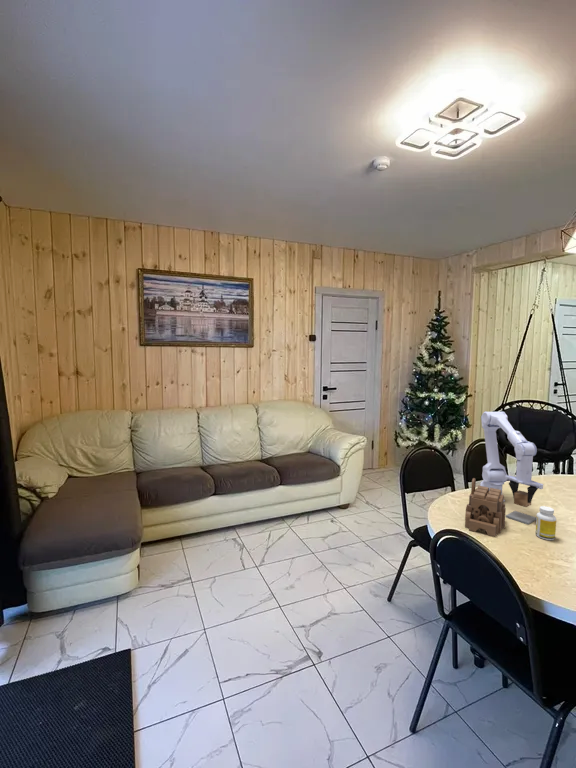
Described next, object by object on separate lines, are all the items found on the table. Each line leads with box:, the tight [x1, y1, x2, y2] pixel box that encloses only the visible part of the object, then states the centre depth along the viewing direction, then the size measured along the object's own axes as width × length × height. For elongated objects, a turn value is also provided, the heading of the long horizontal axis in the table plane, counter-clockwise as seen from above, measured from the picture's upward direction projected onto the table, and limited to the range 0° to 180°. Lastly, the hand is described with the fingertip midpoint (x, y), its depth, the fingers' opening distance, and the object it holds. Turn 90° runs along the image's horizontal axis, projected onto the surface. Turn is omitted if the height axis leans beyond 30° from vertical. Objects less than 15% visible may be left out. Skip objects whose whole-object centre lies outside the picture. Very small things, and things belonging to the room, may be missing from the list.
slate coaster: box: [505, 510, 536, 525], centre depth 166 cm, size 9×9×1 cm
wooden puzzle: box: [464, 477, 506, 538], centre depth 160 cm, size 22×15×19 cm, turn 145°
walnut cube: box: [513, 489, 532, 508], centre depth 166 cm, size 5×5×5 cm
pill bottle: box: [535, 505, 557, 541], centre depth 149 cm, size 6×6×12 cm
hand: (522, 500), depth 166 cm, fingers closed on walnut cube, 5 cm apart
